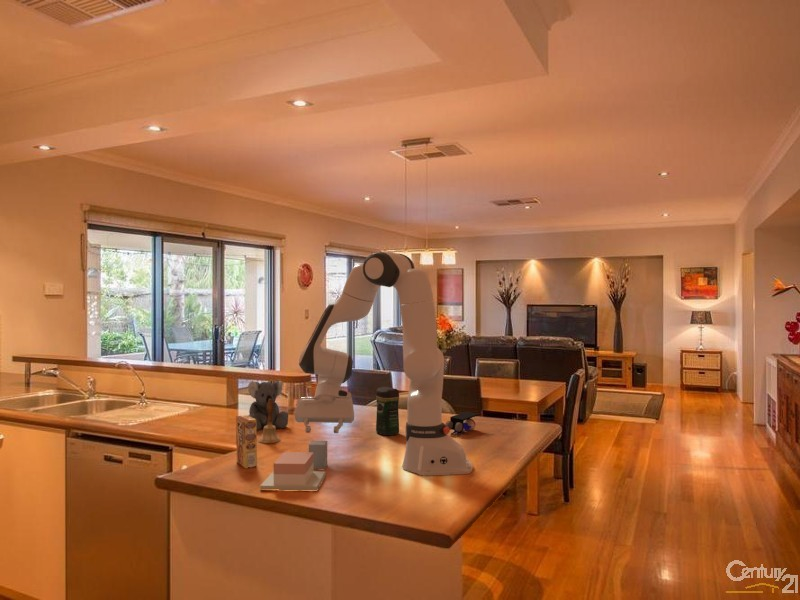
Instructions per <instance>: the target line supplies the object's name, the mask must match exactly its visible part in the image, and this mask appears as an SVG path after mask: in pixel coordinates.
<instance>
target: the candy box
mask: <svg viewBox="0 0 800 600" xmlns="http://www.w3.org/2000/svg"><path fill="white" fill-rule="evenodd" d="M248 415H249V414H245V415H237V416H236V417H235V429H236V430H235V432H236V433H235V434H236V436H235V437H236V440H235V441H236V442H235V443H236V444H235V445H236V463H237V464H239V465H240V464H241V465H240V466H242V467H243V468H244V467H245V468H244V469H249V468H248V467H250V468H254V467H255V466H256V467H258V450H257V449H258V440H257V439H258V438H257V436H258V434H257V431H258V430H257V420H256V419H254V418H252V417H250V416H248Z"/></svg>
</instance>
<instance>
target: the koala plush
mask: <svg viewBox="0 0 800 600" xmlns="http://www.w3.org/2000/svg"><path fill="white" fill-rule="evenodd" d="M283 386H284V381H281V380H277V381H275V382H270V381H263V382H257V381H254V380H251V381H250V382H249V383H248V384H247V389H248V391H247V392H248V394H249V395H250V396H251V398H253V399H254V400H255V401H253V402H252V403H251V404H250V406H249V411H248V413H249V414H247V415H248V416H250V417H252V418H254V419H256V420H257V431H259V430H261V429H262V428H264V426H266V425H267V423H268V413H267V403H268V400H269V399H272V401H273V405H274V409H273V413H272V425H274V426H275V427H276V429H284V428H287V426H288V423H289V412H287V411H280V408H279V405H278V404H277V402H276V400H277V397H278V396H280V394H281V392H283V391H282V390H283Z"/></svg>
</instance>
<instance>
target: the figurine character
mask: <svg viewBox="0 0 800 600" xmlns="http://www.w3.org/2000/svg"><path fill="white" fill-rule="evenodd" d="M477 416H479V413H476V412H471V411H463V412H460V413H458V414H455V415H452V416H450V418H449V420H448V421H446V422H445V424H446V425H447V426H448V427H449V429H450V431H451V430H452V431H453V432H450V435H453V436H454V434H456V436H460V435H462V434H463V433H464V432H465V431H466V432H467V431H470V432H471V431H474V429H475V427H476V422H475V420H474V419H472V418H475V417H477Z"/></svg>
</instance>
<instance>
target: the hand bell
mask: <svg viewBox="0 0 800 600" xmlns="http://www.w3.org/2000/svg"><path fill="white" fill-rule="evenodd" d="M273 409H274V405H273V401H272V399H269V400H268V403H267V413H268V423H267V425H266V424H265V425H263V431H262V434H261V437H260V438H259V439H258V440H257V442H258V443H261V444H276V443H279V442H281V438H280V436H279V435H278V433H277V428H276V427H275V426H274V425H272V413H273Z"/></svg>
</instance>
